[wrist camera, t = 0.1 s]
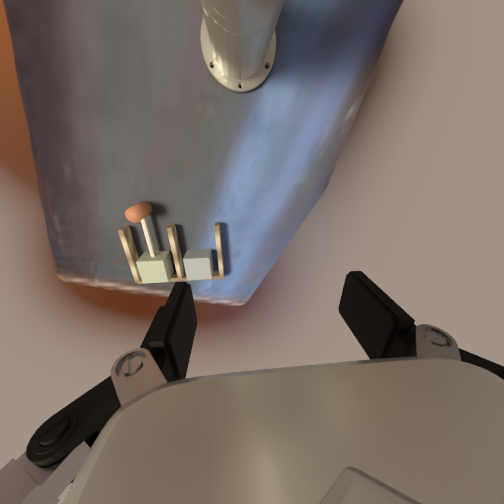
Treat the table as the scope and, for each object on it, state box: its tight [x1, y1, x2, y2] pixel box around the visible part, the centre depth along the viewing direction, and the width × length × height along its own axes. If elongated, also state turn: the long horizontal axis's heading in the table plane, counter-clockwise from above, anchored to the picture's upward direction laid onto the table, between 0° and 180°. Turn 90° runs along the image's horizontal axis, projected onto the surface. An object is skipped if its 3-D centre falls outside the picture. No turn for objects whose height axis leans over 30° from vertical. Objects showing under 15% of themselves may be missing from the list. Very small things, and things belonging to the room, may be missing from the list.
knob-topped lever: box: [125, 201, 174, 283], centre depth 45 cm, size 18×6×6 cm, turn 1°
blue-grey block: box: [183, 249, 214, 280], centre depth 49 cm, size 6×6×5 cm
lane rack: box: [118, 222, 224, 284], centre depth 48 cm, size 15×22×3 cm
